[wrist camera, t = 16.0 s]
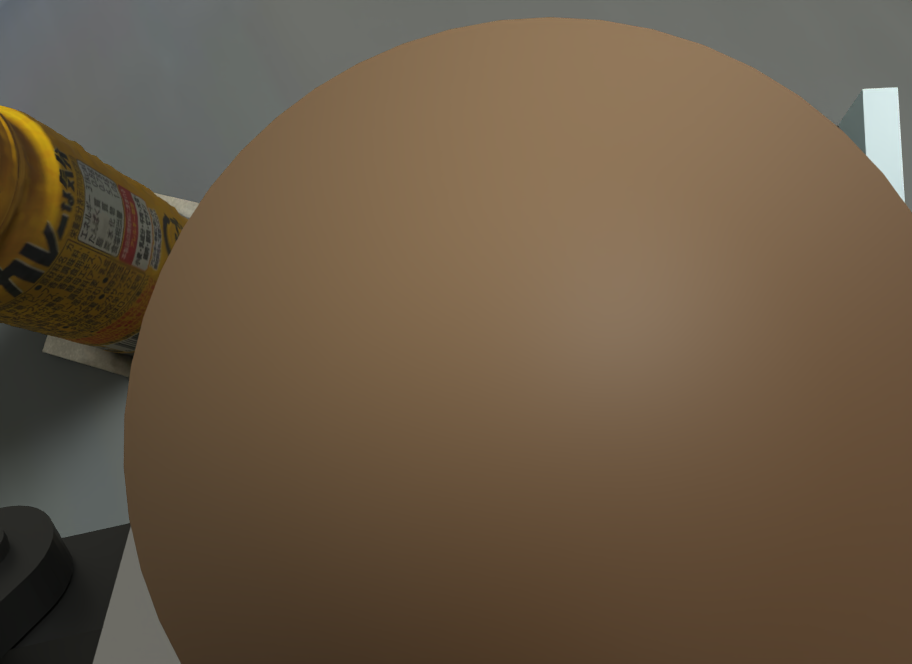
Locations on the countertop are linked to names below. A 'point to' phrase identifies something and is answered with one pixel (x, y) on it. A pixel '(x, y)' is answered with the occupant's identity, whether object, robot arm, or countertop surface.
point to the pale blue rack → (878, 131)
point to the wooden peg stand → (533, 371)
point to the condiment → (78, 245)
